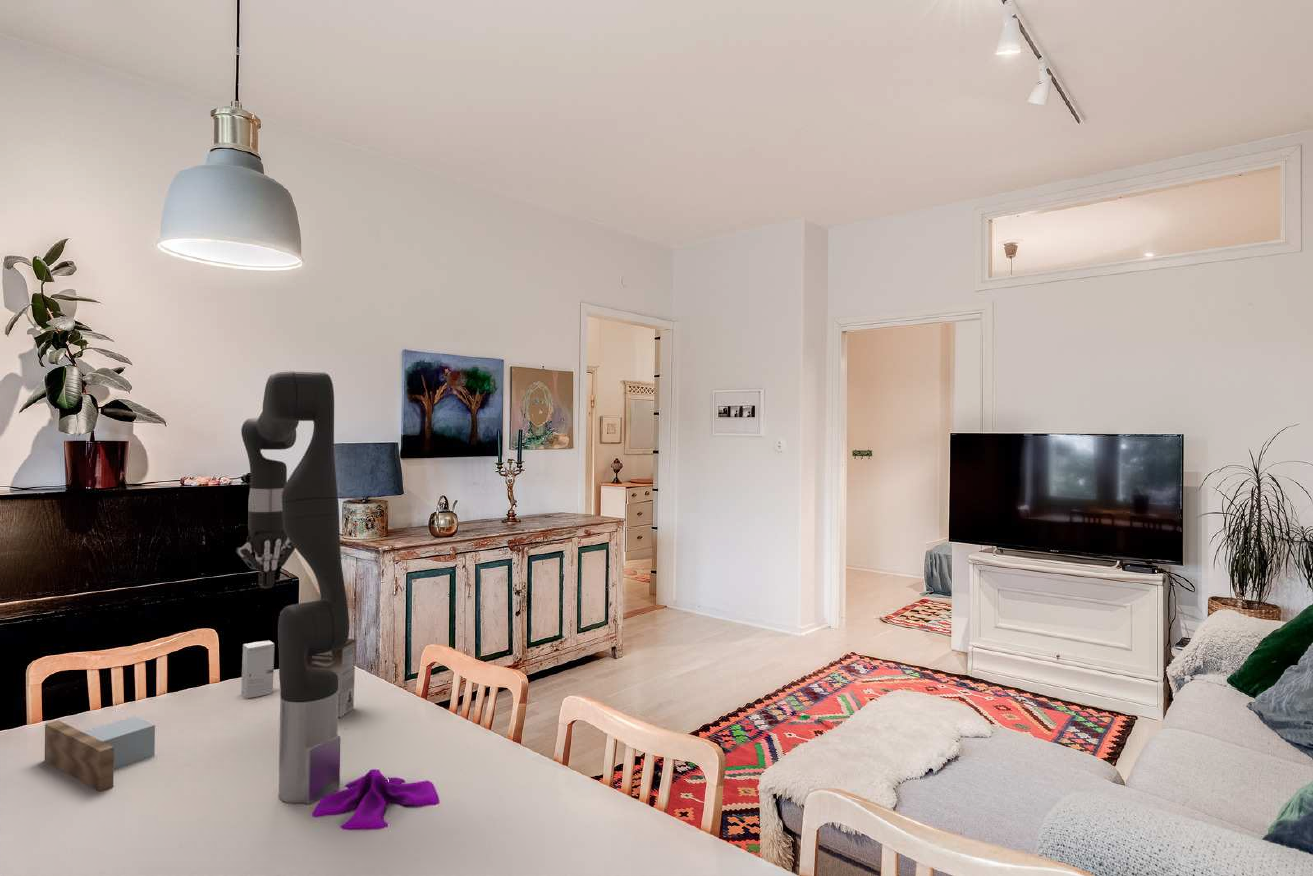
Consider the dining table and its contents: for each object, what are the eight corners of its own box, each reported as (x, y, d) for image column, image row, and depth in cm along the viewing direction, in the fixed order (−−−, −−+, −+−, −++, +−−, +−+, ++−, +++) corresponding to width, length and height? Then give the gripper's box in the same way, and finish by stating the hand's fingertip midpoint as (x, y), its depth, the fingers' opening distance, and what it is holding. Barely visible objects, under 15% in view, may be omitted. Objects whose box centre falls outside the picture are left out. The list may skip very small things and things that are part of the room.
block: (154, 756, 137) (155, 725, 137) (93, 777, 128) (93, 744, 128) (134, 746, 141) (134, 716, 141) (73, 766, 132) (73, 734, 132)
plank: (113, 786, 124) (113, 747, 124) (99, 791, 123) (100, 751, 123) (57, 756, 135) (58, 720, 135) (44, 760, 134) (45, 723, 134)
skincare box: (245, 699, 165) (246, 648, 165) (240, 694, 169) (241, 644, 169) (274, 693, 170) (275, 643, 170) (268, 688, 173) (269, 639, 173)
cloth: (459, 794, 125) (459, 759, 125) (374, 847, 109) (375, 808, 109) (371, 765, 135) (371, 733, 135) (281, 810, 119) (281, 774, 119)
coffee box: (301, 716, 156) (302, 644, 156) (317, 705, 163) (318, 636, 163) (340, 719, 155) (341, 646, 155) (355, 708, 162) (356, 638, 162)
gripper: (247, 512, 147) (246, 595, 147) (306, 507, 158) (305, 584, 158) (227, 509, 150) (226, 591, 150) (286, 505, 162) (285, 580, 162)
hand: (266, 587), depth 154 cm, fingers closed
